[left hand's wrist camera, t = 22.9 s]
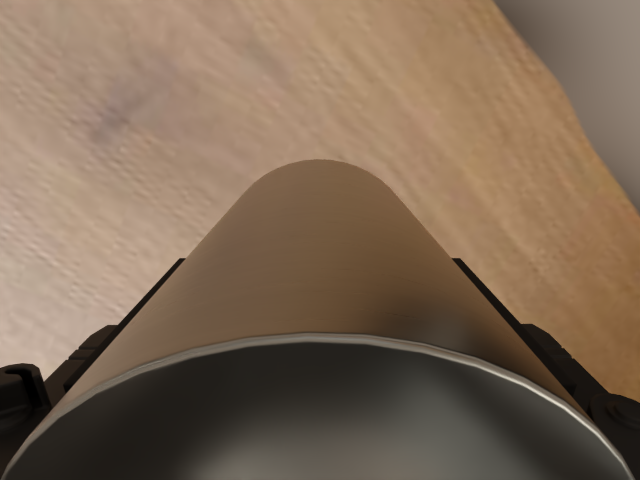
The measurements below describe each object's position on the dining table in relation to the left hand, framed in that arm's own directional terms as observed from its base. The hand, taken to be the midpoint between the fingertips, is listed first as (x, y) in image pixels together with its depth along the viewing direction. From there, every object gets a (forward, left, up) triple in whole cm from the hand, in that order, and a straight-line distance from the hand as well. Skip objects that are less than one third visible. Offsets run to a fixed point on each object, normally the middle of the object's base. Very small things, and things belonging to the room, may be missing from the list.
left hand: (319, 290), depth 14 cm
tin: (0, 0, -3) cm, 3 cm away
